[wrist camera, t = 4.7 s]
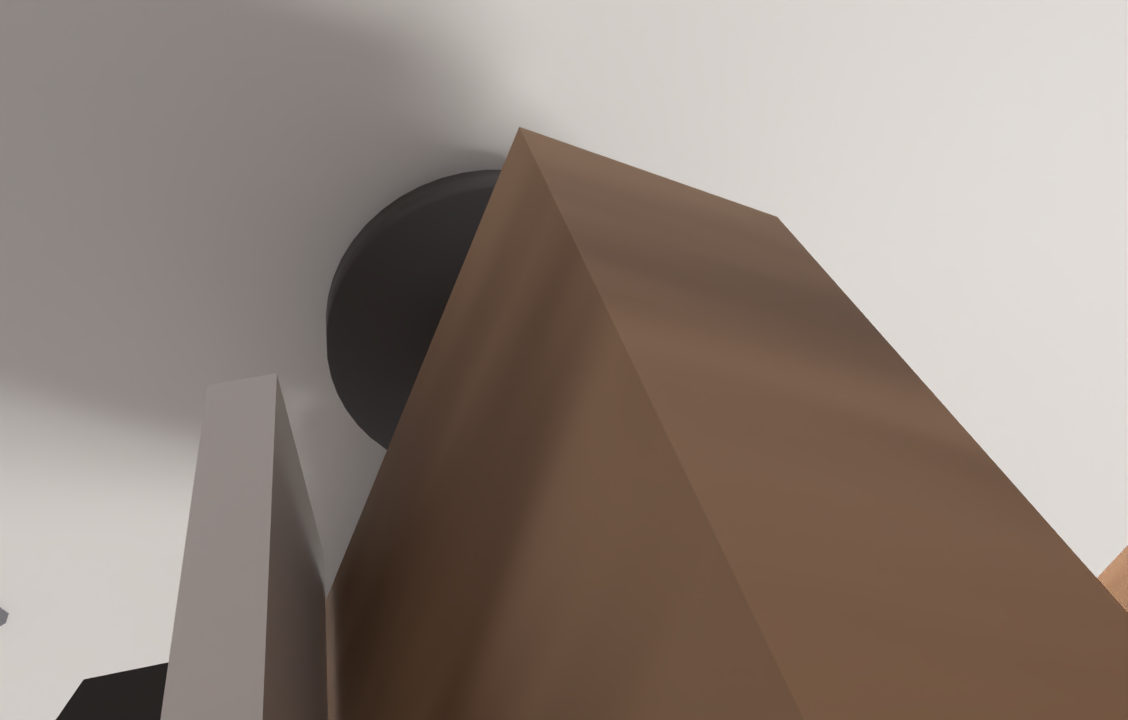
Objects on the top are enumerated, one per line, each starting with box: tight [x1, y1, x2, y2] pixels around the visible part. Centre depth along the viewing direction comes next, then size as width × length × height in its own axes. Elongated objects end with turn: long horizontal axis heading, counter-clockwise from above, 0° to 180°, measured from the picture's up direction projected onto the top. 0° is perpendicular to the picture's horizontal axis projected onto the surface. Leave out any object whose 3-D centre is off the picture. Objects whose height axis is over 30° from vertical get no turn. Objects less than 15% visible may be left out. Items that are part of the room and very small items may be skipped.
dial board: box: [0, 0, 1128, 720], centre depth 16 cm, size 22×28×2 cm
